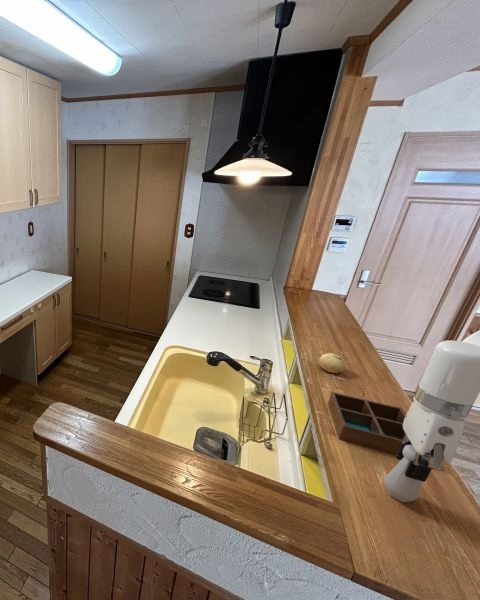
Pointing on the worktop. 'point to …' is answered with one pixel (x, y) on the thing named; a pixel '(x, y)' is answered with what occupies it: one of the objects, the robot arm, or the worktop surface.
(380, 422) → the grid
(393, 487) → the salt shaker
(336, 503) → the worktop surface
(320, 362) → the tan oval lump
